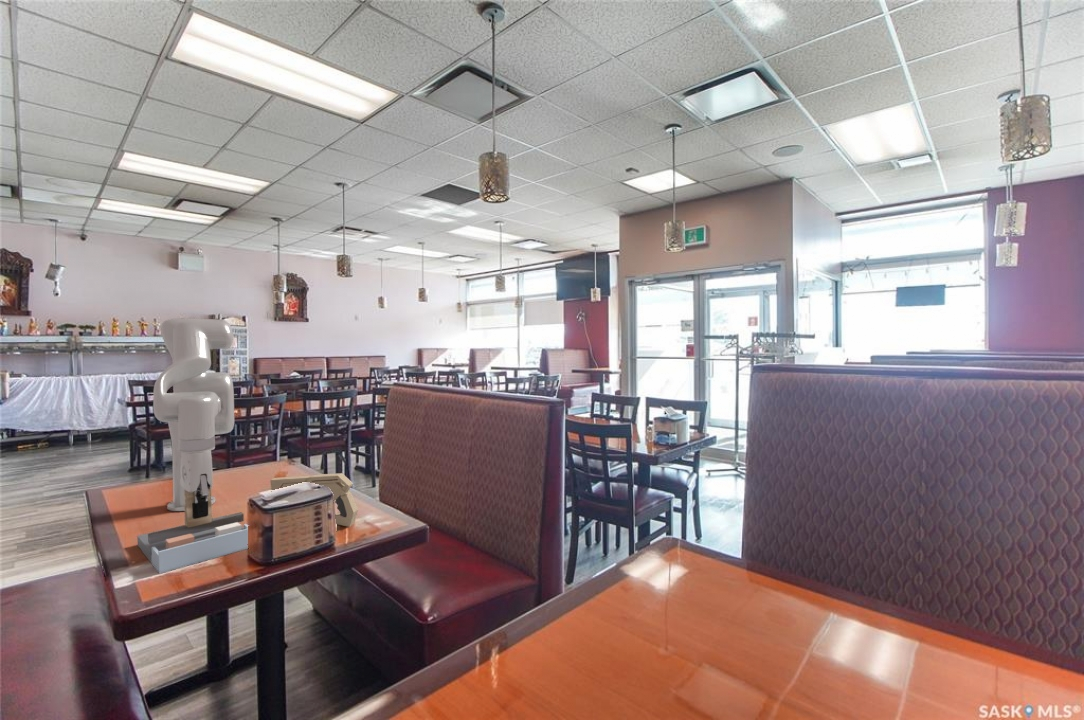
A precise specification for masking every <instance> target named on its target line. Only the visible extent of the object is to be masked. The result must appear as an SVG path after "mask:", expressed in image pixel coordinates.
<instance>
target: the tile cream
mask: <svg viewBox="0 0 1084 720" xmlns="http://www.w3.org/2000/svg"><path fill="white" fill-rule="evenodd" d="M241 526H242V524H240V522H236V523H232V524H228V525H224V526H219V527H215V537H217V536H220V535H224V534H228V533H232V532H236V531H240V530H242V529H241Z"/></svg>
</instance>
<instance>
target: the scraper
mask: <svg viewBox="0 0 1084 720" xmlns="http://www.w3.org/2000/svg"><path fill="white" fill-rule="evenodd" d="M197 490H200V488H197ZM198 494H200V493H197V497H198ZM211 496H212V488H211V489H208V516H206V517H201V518H197V519H193V509H192V503H194V492H193V493H189V492H188V491H186V490H184V497H185V511H184V524H182V525H183V526H181V525H179V527H177V526H174V527H175V528H173V527H170V528H171V529H168V528H165V529H166V530H164V529H161V530H162V531H160V530H157V531H158V532H155V531H152V532H153V533H151V532H148V533H149V534H148V542H149V544H153V543H157V542H161V541H165V540H166V539H170V538H174V537H178V536H182V535H187V534H194V533H198V532H202V531H206V530H210V529H214V528H215V527H219V526H224V525H228V524H232V523H236V522H238V523H242V522H244V521H245V519H244V518H245V517H244V512H242V511H239V512H235V513H231V514H226V516H225V515H221V516H222V517H221V516H217V517H218V518H216V517H213V519H212V514H213V513H212V504H211Z"/></svg>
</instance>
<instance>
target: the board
mask: <svg viewBox="0 0 1084 720" xmlns="http://www.w3.org/2000/svg"><path fill="white" fill-rule="evenodd" d="M226 515H227V514H226ZM226 515H225V514H224V516H226ZM222 516H223V515H221V516H220V517H222ZM218 517H219V516H217V517H215V518H218ZM213 518H214V517H213ZM213 518H212V519H213ZM183 525H184V524H182V525H179V526H183ZM179 526H178V525H177V526H173V527H169V528H164V529H160V530H155V531H151V532H148V533H143V534H140V535H139V534H138V535H137V536H136V537H137V542H136V543H137V547H138V548H139V549H140V550H141V552H142V553H143V554H144V556H145V557H146V558H147V559H148V561H149V562H150V563H151V555H152V547H156V549H157V550H158V551H162V550H166V540H165V541H161V542H157V543H153V544H149V542H148V534H149V533H153V532H158V531H162V530H166V529H171V528H175V527H179ZM241 529H242V530H244V526H243V525H241ZM192 535H193V536H194V542H197V541H201V540H205V539H209V538H213V537H215V528H214V529H210V530H206V531H202V532H198V533H194V534H192Z"/></svg>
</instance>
